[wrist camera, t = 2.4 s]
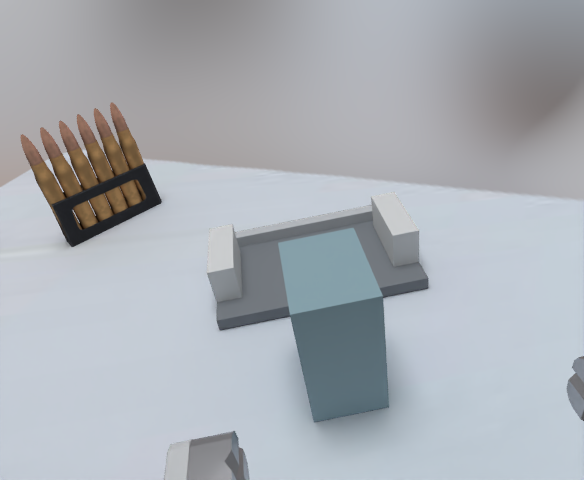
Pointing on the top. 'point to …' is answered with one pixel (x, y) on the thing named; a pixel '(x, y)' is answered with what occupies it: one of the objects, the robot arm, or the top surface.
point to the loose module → (336, 323)
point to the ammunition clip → (93, 178)
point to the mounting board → (264, 240)
